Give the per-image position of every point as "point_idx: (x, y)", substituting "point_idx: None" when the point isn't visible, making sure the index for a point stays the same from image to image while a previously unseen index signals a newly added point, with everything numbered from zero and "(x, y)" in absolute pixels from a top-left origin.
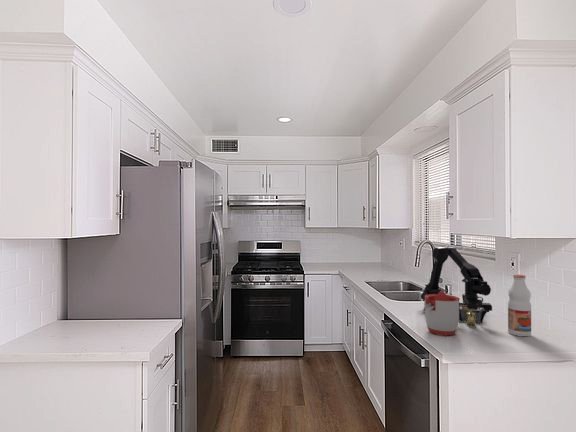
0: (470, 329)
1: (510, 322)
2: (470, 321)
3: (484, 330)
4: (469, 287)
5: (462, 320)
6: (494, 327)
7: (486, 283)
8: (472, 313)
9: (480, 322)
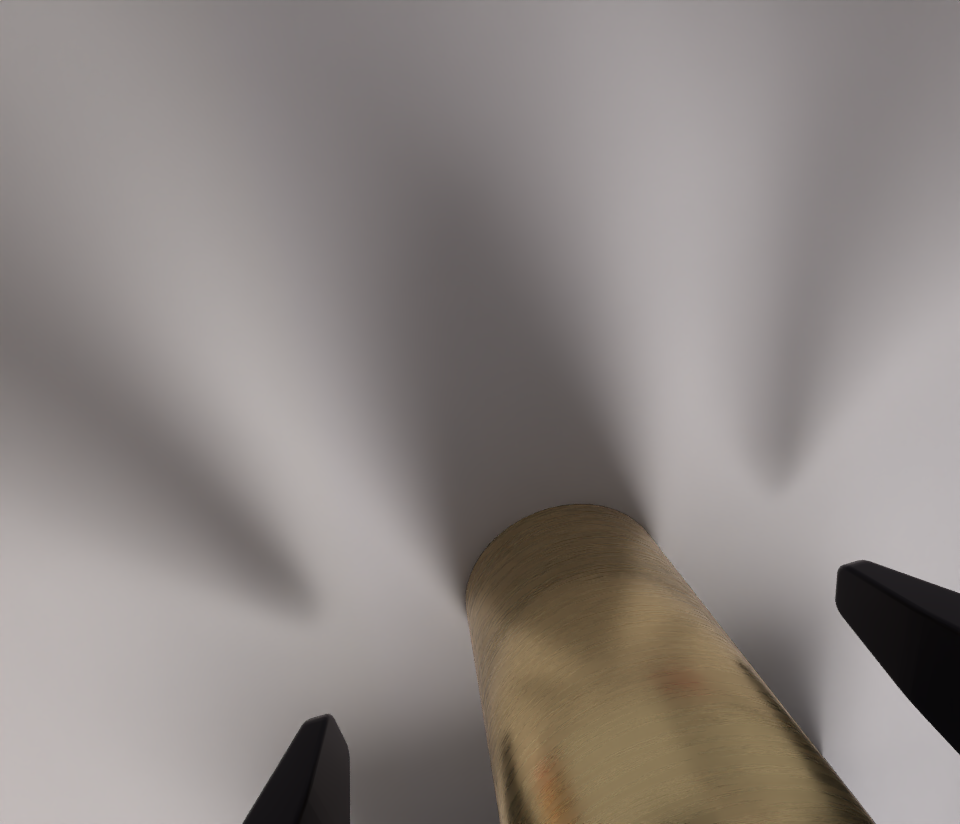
0: (545, 96)
1: None
2: (625, 594)
3: (108, 260)
4: None
5: None
6: (26, 743)
7: None
8: None
9: (343, 751)
